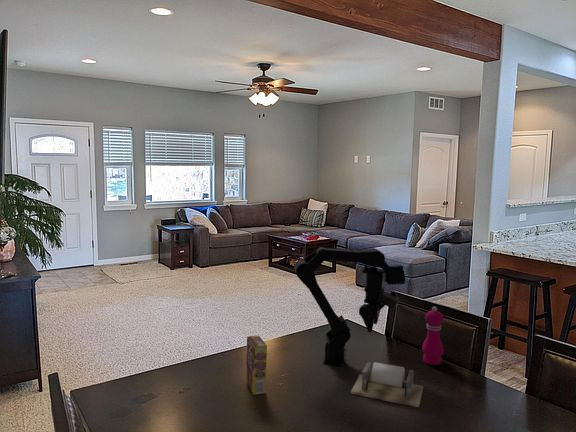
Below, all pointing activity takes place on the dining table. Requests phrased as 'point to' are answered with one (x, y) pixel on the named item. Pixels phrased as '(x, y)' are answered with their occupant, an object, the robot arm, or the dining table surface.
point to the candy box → (256, 364)
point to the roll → (388, 374)
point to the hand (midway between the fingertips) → (372, 328)
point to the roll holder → (388, 389)
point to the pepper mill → (433, 338)
